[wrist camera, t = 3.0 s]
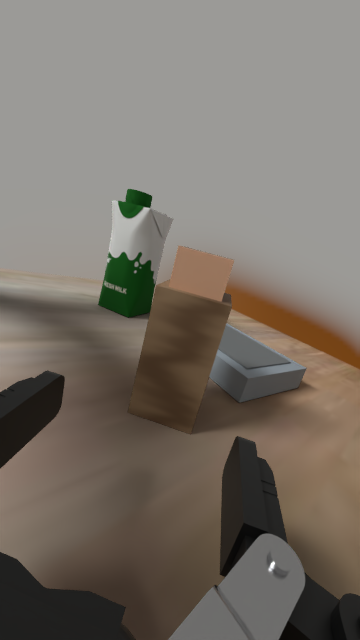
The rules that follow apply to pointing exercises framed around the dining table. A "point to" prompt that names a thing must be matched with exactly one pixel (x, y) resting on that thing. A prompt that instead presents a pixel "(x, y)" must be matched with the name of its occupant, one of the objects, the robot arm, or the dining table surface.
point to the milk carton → (133, 255)
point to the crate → (177, 356)
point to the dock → (252, 367)
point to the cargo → (200, 273)
